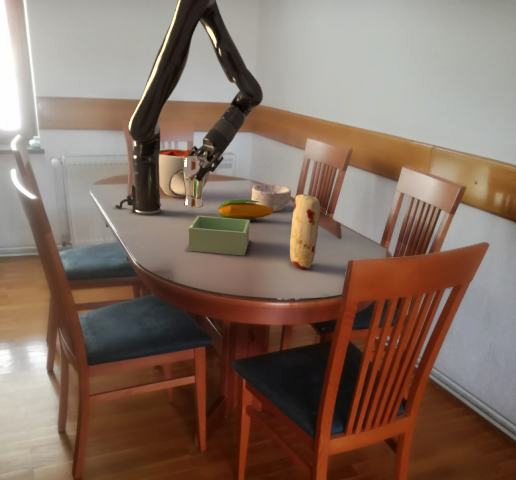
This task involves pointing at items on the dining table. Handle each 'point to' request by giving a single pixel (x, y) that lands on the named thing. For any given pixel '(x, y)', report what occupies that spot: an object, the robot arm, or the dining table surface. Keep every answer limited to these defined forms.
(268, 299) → the dining table surface
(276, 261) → the dining table surface
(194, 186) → the beer glass
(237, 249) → the tub
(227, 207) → the corn
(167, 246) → the dining table surface
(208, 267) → the dining table surface
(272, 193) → the paper bowls
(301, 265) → the food model
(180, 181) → the pot
